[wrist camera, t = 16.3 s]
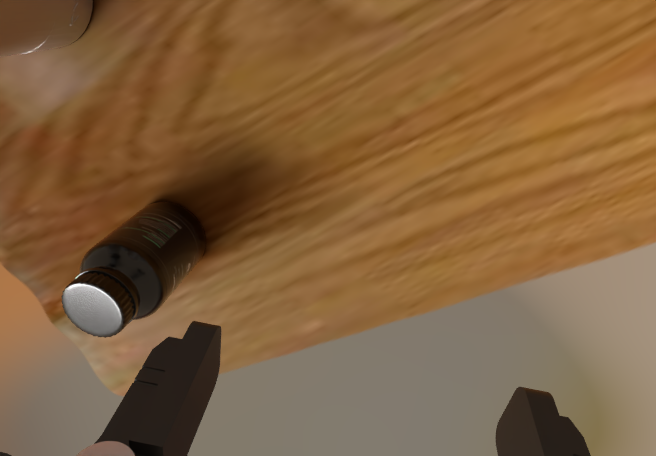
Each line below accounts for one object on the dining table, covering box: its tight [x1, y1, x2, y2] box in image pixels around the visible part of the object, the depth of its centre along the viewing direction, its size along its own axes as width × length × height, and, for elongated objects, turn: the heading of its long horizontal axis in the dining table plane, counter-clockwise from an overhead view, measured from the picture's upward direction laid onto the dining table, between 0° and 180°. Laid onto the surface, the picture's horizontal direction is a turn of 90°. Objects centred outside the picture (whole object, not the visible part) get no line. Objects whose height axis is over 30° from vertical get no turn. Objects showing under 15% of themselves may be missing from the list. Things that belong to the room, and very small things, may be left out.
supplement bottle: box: [62, 202, 206, 338], centre depth 39 cm, size 7×7×12 cm
